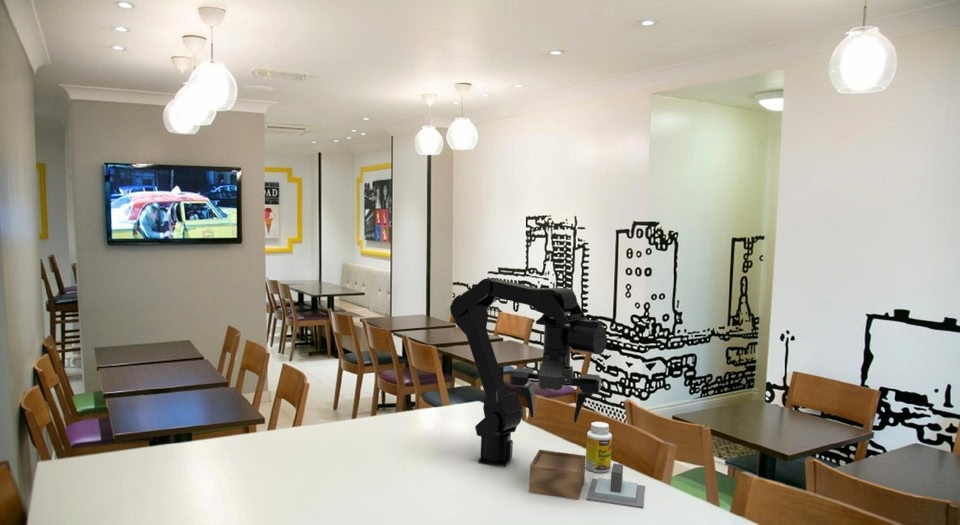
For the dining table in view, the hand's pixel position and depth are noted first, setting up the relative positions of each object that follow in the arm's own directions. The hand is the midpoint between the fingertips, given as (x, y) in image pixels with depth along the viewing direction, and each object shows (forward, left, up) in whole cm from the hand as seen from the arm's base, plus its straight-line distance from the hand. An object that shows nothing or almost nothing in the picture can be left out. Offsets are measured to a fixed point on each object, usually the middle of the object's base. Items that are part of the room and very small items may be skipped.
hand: (553, 419), depth 140 cm
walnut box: (+2, -4, -13) cm, 14 cm away
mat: (+14, -3, -13) cm, 19 cm away
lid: (+14, -3, -12) cm, 19 cm away
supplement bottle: (+9, +10, -13) cm, 18 cm away
